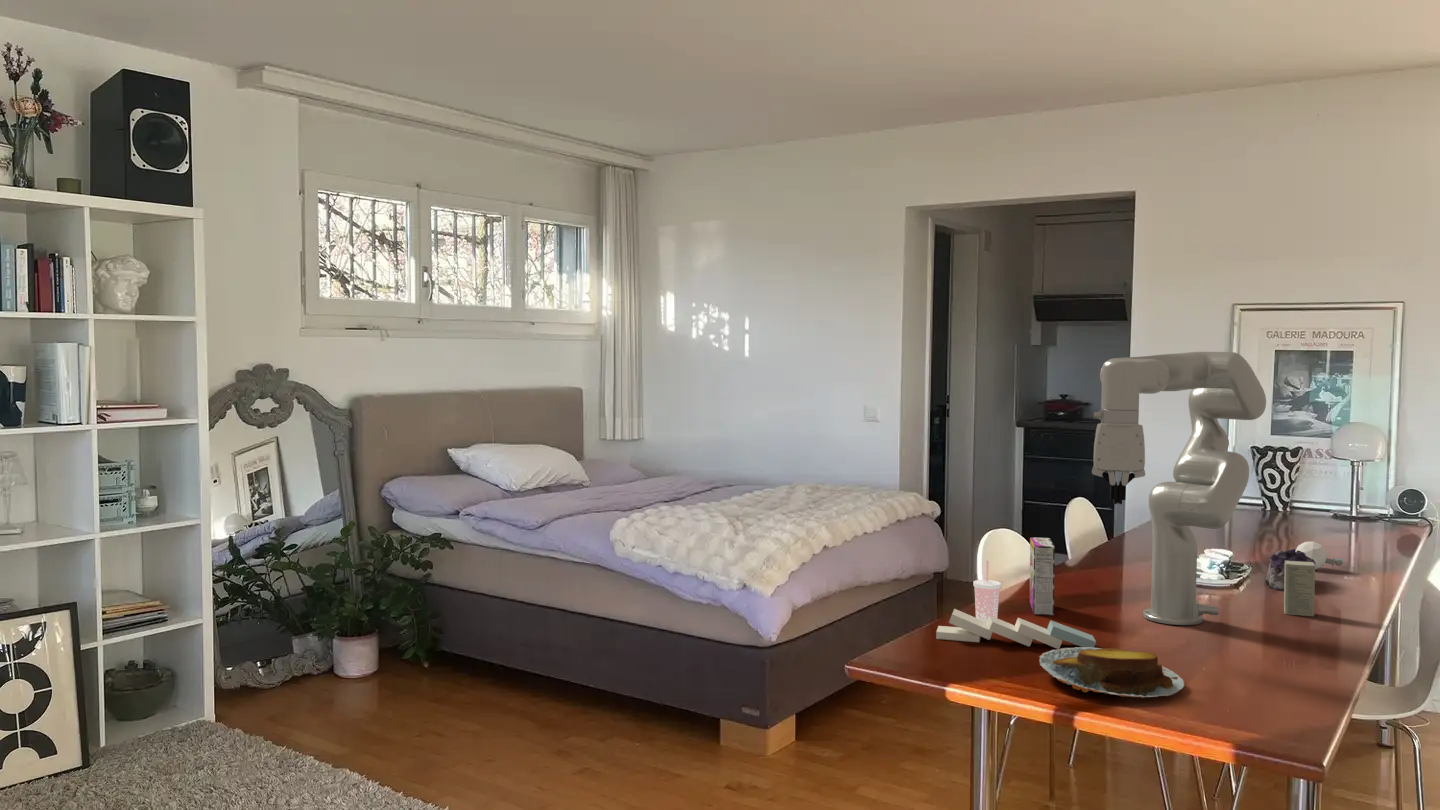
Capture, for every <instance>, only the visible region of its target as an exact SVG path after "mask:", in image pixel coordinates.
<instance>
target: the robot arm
mask: <svg viewBox="0 0 1440 810" xmlns="http://www.w3.org/2000/svg"><path fill="white" fill-rule="evenodd" d="M1099 380H1100V383H1101V401H1100V403H1101V404H1100V410H1099V411H1094V412H1093V419H1097V420H1100V423H1097V425H1096V429H1095V437H1094V443H1093V457H1092V458H1093V459H1092V460H1093V466H1092V470H1091V474H1092V475H1093V476H1097V477H1100V478H1101V477H1102V478H1103V479H1105V481H1106V482H1108V484H1109V485H1110V488H1109V493H1110V494H1109V500H1112V503H1113V504H1114V505H1118V504H1119V505H1123V501H1125V500H1126V492H1127V491H1126V490H1127V489H1126V488H1127V487H1126V486H1127V485H1128V484H1129V483H1130V482H1132V481H1133V480H1134V479H1138V478H1143V477H1146V471H1145V466H1146V465H1145V464H1146V447H1145V446H1146V445H1145V434H1144V427H1143V425H1142V424H1139V421H1140V420H1139V419H1140V418H1139V417H1140V394H1141V395H1142V394H1144V395H1145V394H1146V395H1148V394H1149V395H1151V394H1152V395H1153V394H1158V393H1161V392H1180V391H1187V390H1188V391H1189V390H1191V391H1190V393H1189V396H1188V409H1189V410H1188V411H1189V416H1190V417H1189V419H1190V422H1191V423H1190V424H1191V435H1190V436H1189V438H1188V441H1187V442H1186V443H1185V446H1184V447H1183V449H1182V451H1181V453H1180V454H1179V456H1178V458H1177V460H1176V462H1175V464H1174V466H1173V467H1174V468H1173V472H1172V475H1173V476H1172V478H1173V479H1174V480H1175V481H1164V482H1159V483H1158V484H1156V485H1155V486H1153V487H1152V489H1151V490H1150V492H1149V495H1148V508H1149V513H1150V515H1149V516H1150V519H1151V527H1152V528H1151V530H1152V533H1151V535H1152V544H1151V545H1152V547H1151V548H1152V549H1151V583H1150V585H1151V587H1150V590H1151V591H1150V607H1149V608H1145V609H1144V610H1143V611H1142V614H1143V617H1144V618H1145V619H1147V620H1150V621H1152V622H1156V623H1160V624H1165V625H1172V626H1174V625H1175V626H1194V625H1195V626H1196V625H1199V624H1202V623H1203V622H1204V621H1203V619H1204V617H1203V616H1204V615H1211V616H1219V607H1218V606H1215V605H1214V606H1213V605H1211V604H1201V603H1199V602H1198V600H1197V575H1198V574H1197V573H1198V571H1197V569H1198V568H1197V567H1198V542H1197V539H1196V537H1195V533H1193V531H1192V529H1191V527H1196V528H1204V529H1212V530H1218V529H1221V528H1223V527H1224V526H1225V525H1226V524H1228V522H1229V521H1230V518H1232V515H1233V513H1234V511H1235V509H1236V508H1237V505H1238V504H1239V502H1240V501H1241V500H1240V499H1241V498H1242V496H1243V494H1244V492H1245V490H1246V487H1248V483H1249V477H1250V466H1249V462H1248V460H1247V459H1246V457H1245V456H1243V455H1242V454H1240V453H1238V452H1234V451H1228V449H1229V447H1230V440H1229V437H1228V435H1227V433H1226V431H1225V430H1224V428H1223V427H1222V426H1221V424H1220V423H1219V420H1218V419H1222V420H1237V421H1238V420H1240V421H1241V420H1242V421H1254V420H1256V419H1259V418H1260V417H1261V416H1262V415H1264V413H1265V411H1266V408H1267V396H1266V393H1265V390H1264V389H1263V386H1262V384H1261V383H1260V380H1259V379H1258V377H1257V375H1256V374H1255V372H1254V370H1253V368H1252V367H1251V365H1250V364H1249V363H1248V361H1247V360H1246V359H1245V357H1244V356H1242V355H1241V354H1239V353H1237V352H1234V351H1233V352H1232V351H1190V352H1178V353H1164V354H1162V353H1161V354H1156V355H1155V354H1153V355H1143V356H1129V357H1128V356H1127V357H1125V356H1124V357H1117V358H1115V357H1113V358H1110V359H1108V360H1106V361H1105V362H1104V363H1103V364H1102V367H1101V369H1100V372H1099ZM1115 472H1119V473H1121V476H1120V480H1119V482H1117V480H1116V476H1115V475H1116V474H1115ZM1118 483H1119V484H1118Z"/></svg>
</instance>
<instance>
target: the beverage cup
mask: <svg viewBox="0 0 1440 810" xmlns="http://www.w3.org/2000/svg"><path fill="white" fill-rule="evenodd" d="M989 566H990V565H989V560H986V565H985V568H986V569H985V573H986V575H985V579H976V580H973V581H972V582H973V587H974V602H975V603H974V604H975V605H974V606H975V618H978V619H980V620H982V621H985V622H986V621H987V619H988V617H989V615H990V616H992V617H995V618H997V619H998V614H999V613H998V612H999V603H1000V602H999V601H1000V600H999V598H1000V588H1002V586H1001V585H1002V583H1001V581H997V580H994V579H989Z"/></svg>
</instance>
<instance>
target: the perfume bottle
mask: <svg viewBox="0 0 1440 810" xmlns="http://www.w3.org/2000/svg"><path fill="white" fill-rule="evenodd" d="M1295 550H1296V551H1297V550H1299V551H1301V552H1304V553H1305V555H1306V556H1307V557H1309V558H1311V559H1313V560H1314V561H1315V571H1317V570H1319V569H1321V568H1322V567H1324V566H1325V564H1328V565H1331V567H1333V566H1334V565H1336V566H1338V567H1339V566H1342V565H1343V563H1344V562H1343V560H1342V559H1341V558H1328V556H1327V551H1326V549H1325V548H1324V547H1323V545H1322V544H1320V543H1317V542H1316V541H1304V542H1302V543H1300V544H1298V546H1297V547H1296V549H1295Z"/></svg>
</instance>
